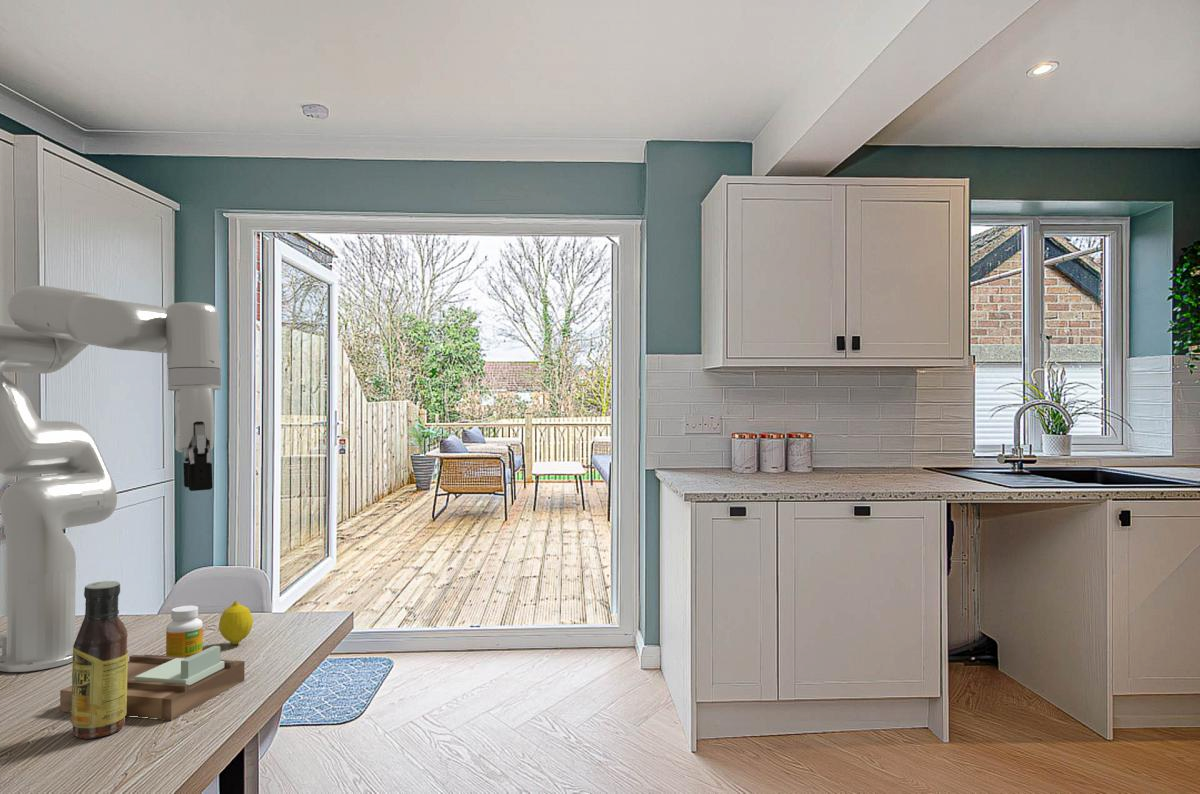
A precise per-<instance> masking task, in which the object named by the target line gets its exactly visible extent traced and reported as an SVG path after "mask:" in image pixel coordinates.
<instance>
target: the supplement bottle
mask: <svg viewBox="0 0 1200 794" xmlns="http://www.w3.org/2000/svg"><path fill="white" fill-rule="evenodd" d="M198 616H199V607H198V606H196V605H181V606H177V607H173V608H172V609H171V611H170V618H171V620H172V621H170V622H169V623H167V625H166V629H165V630H166V631H165V632H166V633H165V634H166V635H165V636H166V637H165V638H166V641H165V643H166V645H165V648H166V649H165V651H166V652H165V653H166V654H165V656H175V657H190V656H192V655H195V654H197V653H199V652H201V651H203V650H204V649H203V648H204V647H203V640H204V639H203V637H204V636H203V633H204V631H203V630H204V628H203V627H204V624H203V621H202V619H200V618H198Z"/></svg>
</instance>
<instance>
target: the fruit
mask: <svg viewBox="0 0 1200 794" xmlns="http://www.w3.org/2000/svg"><path fill="white" fill-rule="evenodd" d="M253 622H254V619H253V616H252V612H251V611H250V609H249V608H248V607H247V606H245V605H243V604H240V603H239V602H238V601H237V600H235V601H234V602H233V603H232V604H231V605H230V606H228V607H227V608H225V609H224V610H223V612H222V614H221V616H220V618H219V622H218V623H219V625H218V628H219V633H220V635H221V636H222V637H223V638H224V640H227V641H228V642H229V643H230V644H231V645H233V646H234V645H238V644H240V642H242V641H243V640H244V639H245V638H246V637H247V636H248V635H250V632H251V631H252V628H253Z"/></svg>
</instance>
